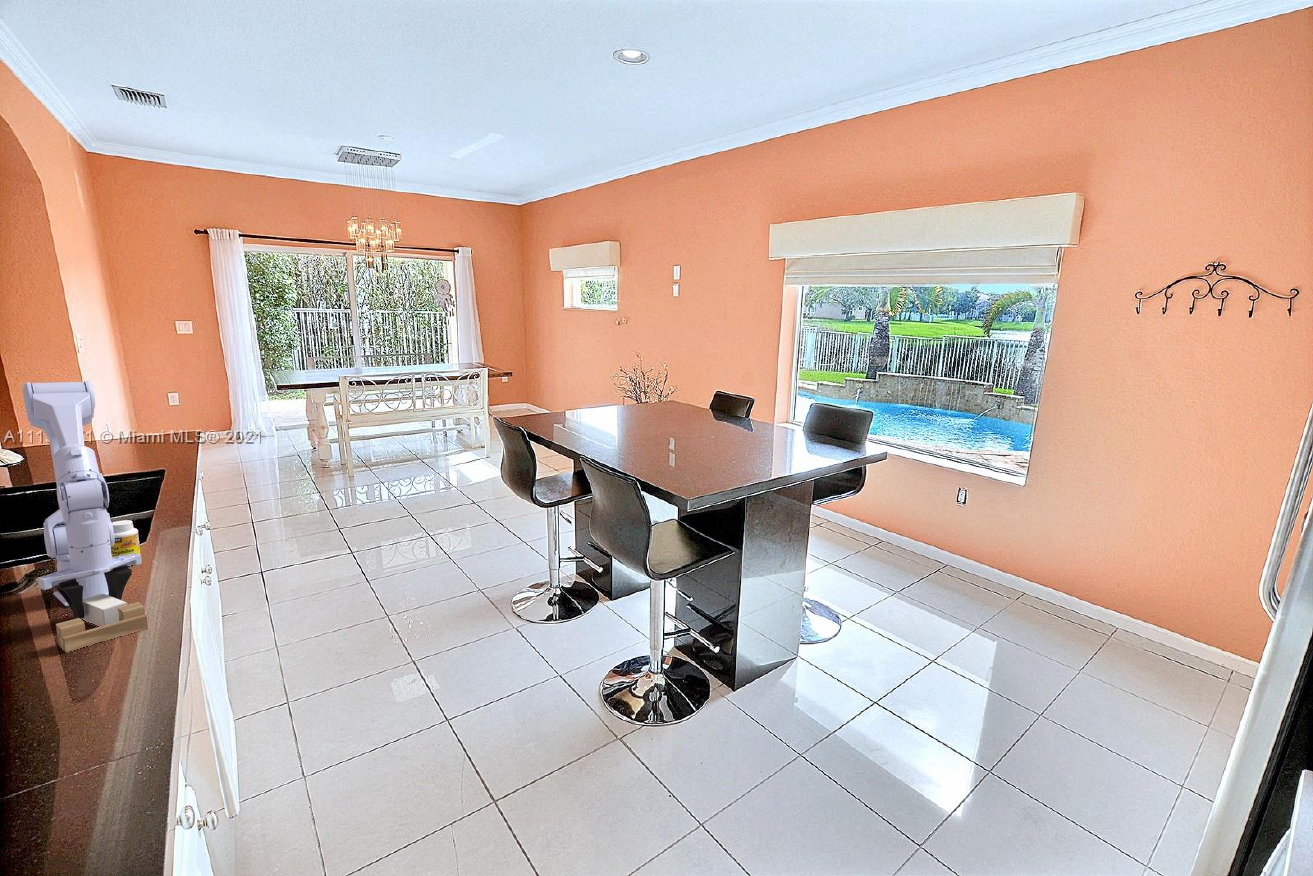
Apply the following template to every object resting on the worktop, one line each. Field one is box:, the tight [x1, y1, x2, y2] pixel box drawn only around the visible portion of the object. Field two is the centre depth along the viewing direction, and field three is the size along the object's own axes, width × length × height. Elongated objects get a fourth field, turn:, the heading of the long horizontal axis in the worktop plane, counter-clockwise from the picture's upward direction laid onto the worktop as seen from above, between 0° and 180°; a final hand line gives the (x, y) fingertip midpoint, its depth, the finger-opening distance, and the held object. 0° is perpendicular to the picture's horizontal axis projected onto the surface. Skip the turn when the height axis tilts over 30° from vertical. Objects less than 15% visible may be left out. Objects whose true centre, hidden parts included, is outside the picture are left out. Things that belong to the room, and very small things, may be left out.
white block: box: [81, 593, 128, 627], centre depth 112 cm, size 9×4×4 cm, turn 66°
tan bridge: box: [55, 602, 149, 654], centre depth 107 cm, size 4×11×4 cm, turn 146°
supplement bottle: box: [111, 519, 141, 557], centre depth 138 cm, size 6×6×10 cm
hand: (97, 611), depth 113 cm, fingers open, 5 cm apart
